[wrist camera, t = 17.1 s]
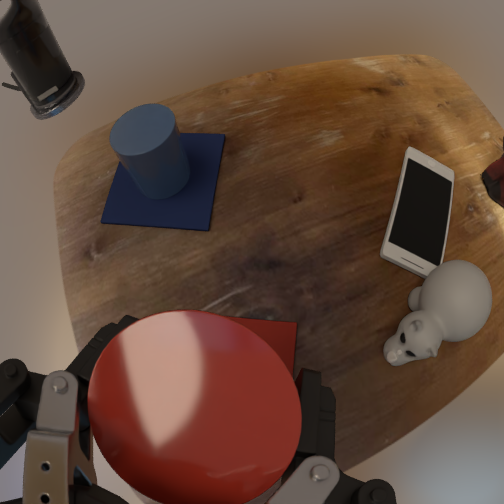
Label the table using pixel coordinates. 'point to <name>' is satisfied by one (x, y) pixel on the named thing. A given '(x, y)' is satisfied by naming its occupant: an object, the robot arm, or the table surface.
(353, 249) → the table surface
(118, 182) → the blue mat
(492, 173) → the stuffed fox
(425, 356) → the toy rhinoceros
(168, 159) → the grey-blue cylinder
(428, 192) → the smartphone
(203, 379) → the red cylinder
